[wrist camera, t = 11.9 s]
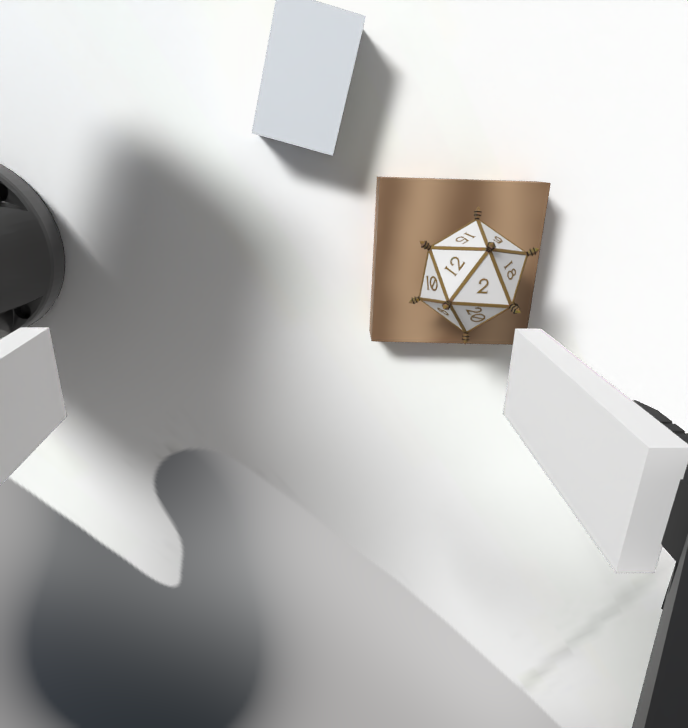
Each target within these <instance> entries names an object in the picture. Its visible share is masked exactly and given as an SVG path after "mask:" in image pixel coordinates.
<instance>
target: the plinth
mask: <svg viewBox="0 0 688 728" xmlns="http://www.w3.org/2000/svg"><path fill="white" fill-rule="evenodd" d="M549 190H550V183H546V182H533V181H500V180H467V179H435V178H402V177H377V188H376V208H375V229H374V250H373V270H372V291H371V311H370V335H371V340H372V341H382V342H425V343H464V342H463V340H462V338H463V337H462V336H463V334H464V332H463V331H461V330H460V329H459V328H457V327H456V326H455V325H453V324H452V323H451V322H449V321H448V320H446V319H445V318H444V317H442V316H441V315H440V314H438V313H437V312H436V311H434V310H433V309H432V308H430V307H429V306H427V305H426V304H425V303H423V302H422V301H421V300H420V301H418V303H415V304H411V303H409V302H410V300H411V299H412V298H414V297H418V296H419V293H420V288H421V283H422V277H423V272H424V267H425V261H426V256H427V251H428V250H427V249H424V248H421V244H420V241H427V243H429V245H430V246H431V245H433V244H434V243H436V242H438V241H439V240H441V239H443V238H444V237H446V236H448V235H449V234H451V233H453V232H454V231H456V230H458V229H459V228H461V227H463V226H464V225H466V224H468V223H469V222H471V221H473V220H474V219H475V217H474V211H475V210H476V209H477V207H478V206H479V208H480V211H481V212H482V213H481V216H480V218H479V219H480V220H481V221H482V222H484V223H485V224H487V225H488V226H490V227H491V228H492V229H494V230H495V231H497V232H498V233H500V234H501V235H503V236H504V237H505V238H507V239H508V240H510V241H511V242H513V243H514V244H515V245H517V246H518V247H520V248H521V249H523V250H524V251H526V252H527V251H529V249H532V248H533V247H534V248H540V246H541V239H542V233H543V227H544V221H545V214H546V208H547V202H548V196H549ZM539 252H540V249H539V251H538V252H537V253H536V255H533V256H532V255H531V256H528V257H527V261H526V264H525V268H524V271H523V274H522V278H521V281H520V284H519V288H518V291H517V294H516V298H515V301H514V302H515V303H517V304H518V307H519V308H520V312H521V314H519V313H517V314H513V312H511V309H509V310H507V311H505V312H504V313H502V314H500V315H498V316H497V317H495V318H493V319H491V320H490V321H488V322H486V323H484V324H483V325H481V326H479V327H477V328H476V329H474V330H472V331H470V332H469V333H468V335H469V336H470V337H469V340H468V341H467V343H469V344H512V345H513V341H514V334H515V329H527V326H528V320H529V314H530V308H531V302H532V295H533V289H534V283H535V277H536V270H537V264H538V258H539Z"/></svg>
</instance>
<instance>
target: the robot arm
mask: <svg viewBox="0 0 688 728" xmlns="http://www.w3.org/2000/svg"><path fill="white" fill-rule="evenodd" d="M64 271H65V256H64V249H63V244H62V240H61V236H60V233H59V230H58V228H57V225H56V223H55V221H54V219H53V217H52V215H51V213H50V212H49V210H48V208H47V207H46V205H45V204H44V202H43V201H42V200H41V198H40V197H39V196H38V195H37V194H36V192H35V191H34V190H33V189H32V188H31V187H30V186H29V185H28V184H27V183H26V182H25V181H24V180H23V179H21V178H20V177H19V176H18V175H16V174H15V173H14V172H12V171H11V170H9V169H8V168H6V167H5V166H3V165H1V164H0V338H2V337H3V338H2V339H0V486H1V485H2V484H3V483H4V481H5V480H6V479H7V478H8V477H9V476H10V475H11V474H12V473H13V472H14V471H15V470H16V469H17V468H18V467H19V466H20V465H21V464H22V463H23V462H24V461H25V460H26V459H27V457H28V456H29V455H30V454H31V453H32V452H33V451H34V450H35V449H36V448H37V447H38V446H39V445H40V444H41V443H42V442H43V441H44V440H45V439H46V438H47V437H48V436H49V434H50V433H51V432H52V431H53V430H54V429H55V428H56V427H57V426H58V425H59V424H60V423H61V422H62V421H63V420H64V419H65V418H66V417H67V414H66V409H65V404H64V399H63V394H62V389H61V384H60V379H59V374H58V369H57V364H56V359H55V354H54V349H53V344H52V339H51V334H50V329H49V327H27V326H29V325H31V324H33V323H34V322H36V321H37V320H39V319H40V318H41V317H42V316H43V315H44V314H46V313H47V311H48V310H49V309H50V308H51V307H52V305H53V304H54V302H55V300H56V299H57V297H58V295H59V292H60V290H61V287H62V283H63V278H64ZM503 415H504V416H505V417H506V419H507V420H508V422H509V423H510V424H511V426H512V427H513V429H514V430H515V432H516V433H517V434H518V436H519V437H520V439H521V440H522V441H523V443H524V444H525V446H526V447H527V449H528V450H529V451H530V453H531V454H532V456H533V457H534V458H535V460H536V461H537V463H538V464H539V465H540V467H541V468H542V470H543V471H544V473H545V474H546V475H547V477H548V478H549V480H550V481H551V482H552V484H553V485H554V487H555V488H556V490H557V491H558V492H559V494H560V495H561V497H562V498H563V499H564V501H565V502H566V504H567V505H568V507H569V508H570V509H571V511H572V512H573V514H574V515H575V516H576V518H577V519H578V521H579V522H580V524H581V525H582V526H583V528H584V529H585V531H586V532H587V533H588V535H589V536H590V538H591V539H592V540H593V542H594V543H595V545H596V546H597V548H598V549H599V550H600V552H601V553H602V555H603V556H604V557H605V559H606V560H607V562H608V563H609V565H610V566H611V567H612V569H613V570H614V572H615V573H655V569H656V566H657V563H658V560H659V556H660V553H661V550H662V546H663V547H664V548H665V549H666V550H667V552H668V553H669V554H670V555H671V556H672V557H673V558H674V560H675V561H676V564H675V567H674V570H673V573H672V576H671V580H670V583H669V586H668V589H667V592H666V595H665V598H664V602H663V605H662V608H661V609H663V611H662V615H661V618H660V622H659V626H658V630H657V634H656V638H655V641H654V645H653V649H652V653H651V657H650V661H649V664H648V668H647V672H646V676H645V680H644V684H643V687H642V691H641V695H640V699H639V703H638V707H637V710H636V714H635V718H634V722H633V726H632V728H688V433H687V434H685V431H684V430H683V429H681V428H680V427H679V426H677V425H676V424H672V421H671V420H669V419H668V418H667V417H665V416H664V415H663V414H661V413H660V412H659V411H658V410H656V409H653V408H651V407H649V406H647V405H645V404H642V403H640V402H638V401H636V400H631V399H630V398H629V397H627V396H626V395H625V394H624V393H622V392H621V391H620V390H619V389H617V388H616V387H615V386H614V385H612V384H611V383H610V382H608V381H607V380H606V379H605V378H603V377H602V376H601V375H600V374H598V373H597V372H596V371H594V370H593V369H592V368H591V367H589V366H588V365H587V364H586V363H584V362H583V361H582V360H581V359H579V358H578V357H577V356H575V355H574V354H573V353H572V352H570V351H569V350H568V349H567V348H565V347H564V346H563V345H561V344H560V343H559V342H558V341H556V340H555V339H554V338H553V337H551V336H550V335H549V334H548V333H546V332H545V331H544V330H542V329H515V334H514V341H513V348H512V355H511V362H510V369H509V375H508V382H507V389H506V396H505V403H504V410H503Z"/></svg>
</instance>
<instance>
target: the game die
mask: <svg viewBox="0 0 688 728" xmlns="http://www.w3.org/2000/svg"><path fill="white" fill-rule="evenodd" d="M481 213H482V212H481V211H480V208H479V206H478V207H477V209H476V210H475V211H474V217H475V219H474V220H473V221H471V222H469V223H468V224H466V225H464V226H463V227H461V228H459V229H458V230H456V231H454V232H453V233H451V234H449V235H448V236H446V237H444V238H443V239H441V240H439V241H438V242H436V243H434V244H433V245H431V246H430V245H429V243H427V241H420V244H421V248H424V249H427V250H428V251H427V256H426V261H425V267H424V272H423V277H422V283H421V288H420V293H419V296H418V297H414V298H412V299H411V300H410V302H409V303H411V304H415V303H418V301H420V300H421V301H422V302H423V303H425V304H426V305H427V306H429V307H430V308H432V309H433V310H434V311H436V312H437V313H438V314H440V315H441V316H442V317H444V318H445V319H446V320H448V321H449V322H451V323H452V324H453V325H455V326H456V327H457V328H459V329H460V330H461V331H463V332H464V334H463V336H462V337H463V338H462V340H463V342H464V344H466V343H467V341H468V340H469V337H470V336H469V335H468V333H469V332H470V331H472V330H474V329H476V328H477V327H479V326H481V325H483V324H484V323H486V322H488V321H490V320H491V319H493V318H495V317H497V316H498V315H500V314H502V313H504V312H505V311H507V310H509V309H511V312H513V314H517V313H519V314H521V312H520V308H519V307H518V304H517V303H515V302H514V301H515V298H516V294H517V291H518V288H519V284H520V281H521V278H522V274H523V271H524V268H525V264H526V261H527V257H528V256H531V255H532V256H533V255H536V253H537V252H538V251H539V249H540V248H534V247H533V248H532V249H529V251H527V252H526V251H524V250H523V249H521V248H520V247H518V246H517V245H515V244H514V243H513V242H511V241H510V240H508V239H507V238H505V237H504V236H503V235H501V234H500V233H498V232H497V231H495V230H494V229H492V228H491V227H490V226H488V225H487V224H485V223H484V222H482V221H481V220H480V219H479V218H480V216H481Z"/></svg>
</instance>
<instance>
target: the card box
mask: <svg viewBox="0 0 688 728" xmlns="http://www.w3.org/2000/svg"><path fill="white" fill-rule="evenodd" d="M365 17H366V16H363V15H360V14H357V13H354V12H351V11H347V10H344V9H341V8H338V7H334V6H331V5H328V4H325V3H322V2H318V1H315V0H276V3H275V8H274V14H273V19H272V25H271V30H270V36H269V41H268V47H267V52H266V58H265V63H264V69H263V74H262V80H261V85H260V91H259V96H258V102H257V107H256V113H255V118H254V124H253V129H252V133H253V134H256V135H259V136H263V137H267V138H270V139H274V140H277V141H281V142H284V143H288V144H292V145H295V146H299V147H302V148H306V149H309V150H313V151H317V152H320V153H324V154H327V155H331V156H333V155H334V150H335V146H336V142H337V138H338V133H339V129H340V125H341V121H342V116H343V112H344V108H345V104H346V99H347V95H348V91H349V87H350V82H351V78H352V74H353V70H354V65H355V61H356V57H357V53H358V49H359V44H360V40H361V36H362V32H363V27H364V22H365Z"/></svg>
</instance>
